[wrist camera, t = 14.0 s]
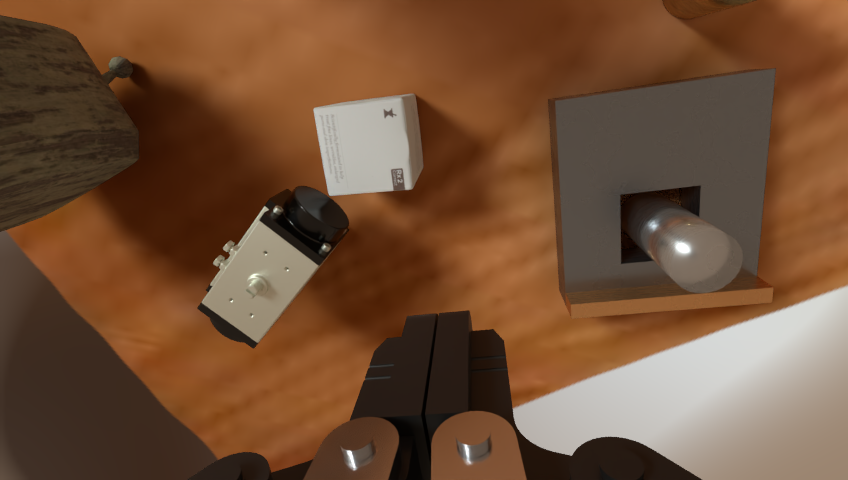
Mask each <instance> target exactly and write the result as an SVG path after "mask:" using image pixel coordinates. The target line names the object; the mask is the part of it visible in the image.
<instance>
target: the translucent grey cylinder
mask: <svg viewBox="0 0 848 480" xmlns="http://www.w3.org/2000/svg"><path fill="white" fill-rule="evenodd" d="M620 214H621V228H622V230H623V231H624V232H625V233H626V234H627V235H628V236H629V237H630V238H631V239H632V240H633V241H634V242H635V243H636V244H637V245H638V246H639V247H640V248H641V249H642V250H643V251H644V252H645V253H646V254H647V255H648V256H649V257H650V258H651V259H652V260H653V261H654V262H655V263H656V264H657V265H658V266H660V267H661V268H662V269H663V270H664V271H665V272H666V273H667V274H668V275H669V276H670V277H671V278H672V279H673V280H674V281H675V282H676V283H677V284H678V285H679V286H680V287H682V288H683V289H685V290H687V291H690V292H693V293H709V292H713V291H716V290H719V289H721V288H723V287H724V286H726V285H727V284H729V283H730V282H731V281H732V280H733V279H734V278H735V277H736V275H737V274H738V272H739V270H740V268H741V265H742V260H743V254H742V250H741V247H740V245H739V244H738V242H737V241H736V240H735V239H734V238H733V237H731V236H730V235H728V234H726V233H725V232H723V231H721V230H720V229H718V228H716V227H715V226H713V225H711V224H710V223H708V222H706V221H705V220H703V219H701V218H700V217H698V216H696V215H695V214H693V213H691V212H690V211H688V210H686V209H685V208H683V207H681V206H680V205H678V204H676V203H675V202H673V201H671V200H670V199H668V198H666V197H664V196H663V195H661V194H659V193H657V192H653V191H648V192H640V193H637V194H635V195H633V196H631V197H630V198H629V199H627V200H626V201H625V203H624V204H623V206H622V207H621V209H620Z"/></svg>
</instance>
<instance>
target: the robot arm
mask: <svg viewBox="0 0 848 480" xmlns="http://www.w3.org/2000/svg"><path fill="white" fill-rule="evenodd" d="M188 480H701V479H700V478H698V477H697V476H695V475H694V474H692V473H690V472H689V471H687V470H685V469H684V468H682V467H680V466H679V465H677V464H675V463H674V462H672V461H670V460H669V459H667V458H666V457H664V456H662V455H661V454H659V453H657V452H656V451H654V450H652V449H650V448H648V447H647V446H645V445H643V444H641V443H638V442H636V441H633V440H629V439H626V438H619V437H601V438H596V439H592V440H590V441H587V442H585V443H584V444H582V445H581V446H580V447H578V448H577V449H576V451H575V452H574V453H573V455H572V456H570V455H565V454H561V453H556V452H552V451H549V450H546V449H543V448H540V447H538V446H536V445H535V444H533V443H531V442H530V441H529V440H527V439H526V438H525V437H524V436H523V435H522V434H521V433H520V432H519V430H518V429H517V427H516V424H515V421H514V417H513V409H512V401H511V393H510V385H509V377H508V370H507V362H506V354H505V346H504V340H503V339H502V338H501V337H500V336H499V335H498V334H497V333H496V332H495V331H494V330H493V329H491V330H479V331H472V323H471V316H470V311H458V312H447V313H439V316H438V314H425V315H414V316H407V319H406V322H405V326H404V329H403V333H402V337H395V338H387V339H386V340H385V341H384V342H383V343H382V344H381V345H380V346H379V347H378V348H377V349H376V350H375V351H374V354H373V357H372V360H371V363H370V368H368V371H367V374H366V376H365V380H364V382H363V385H362V388H361V390H360V393H359V396H358V399H357V402H356V404H355V407H354V410H353V413H352V415H351V418H350V421H348V422H346V423H344V424H342V425H340V426H338V427H337V428H336V429H334V430H333V431H332V432H331V433H330V434H329V435H328V436H327V437H326V438H325V439H324V440H323V442H322V444H321V445H320V447H319V449H318V451H317V453H316V455H315V457H314V459H312V460H310V461H307V462H305V463H302V464H298V465H295V466H292V467H289V468H285V469H282V470H279V471H276V472H272V473H271V470H270V467H269V464H268V462H267V460H266V459H265V458H264V457H263V456H261V455H259V454H257V453H252V452H243V453H237V454H233V455H229V456H227V457H224V458H222V459H220V460H218V461H216V462H214V463H212V464H211V465H209V466H207V467H206V468H204V469H203V470H201V471H200V472H198V473H197V474H195V475H194V476H192V477H191V478H189V479H188Z"/></svg>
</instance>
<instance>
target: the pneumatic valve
mask: <svg viewBox="0 0 848 480" xmlns="http://www.w3.org/2000/svg"><path fill="white" fill-rule="evenodd" d="M348 226H349V220H348V217H347V215H346V214H345V212H344V211H343V210H342V208H341V207H340V206H339V205H338V204H337V203H336V202H334V201H333V200H332V199H331V198H329V197H328V196H327V195H325V194H323V193H322V192H320V191H318V190H316V189H313V188H311V187H307V186H298V187H296V188H295V189H294V190H293V191H292V192H291V191H290V190H289V189H286V190H284V191H282V192H280V193H279V194H277V195H275V196H273V197H272V198H270V199H269V200H268V202H267V203H266V205H265V206H264V207H263V209H262V210H261V212H260V213H259V215H258V216H257V217H256V219H255V220H254V222H253V223H252V225H251V226H250V228H249V229H248V230H247V232H246V233H245V235H244V236H243V238H242V239H241V240H240V242H239V243H238V245H235V246H234V244H235V243H234V242H232V241H231V240H230V241H229V242H227V243H226V245H225V246H224V247H223V250H224V251H226V252H228V251H229V250H230V252H229V254H230V256H229V258H228V259H226V260H225V261H223V260H224V259H225V257H223V256H222V255H219V256H218V257H217V258H216V259H215V260H214V262H213V264H214V265H215V266H219V265H220V266H219V269H220V271H219V272H218V273H217V275H216V276H215V278H214V279H213V281H212V282H211V284H210V285H209V286H208V288H207V289H206V291H207V292H208V293H207V295H206V296H205V298H204V299H203V301H202V302H201V303H200V305H199V306H198V310H200V311H201V312H203V313H204V314H205V315H207V316H208V317H210V320H211V322H212V324H213V325H214V327H215V328H216V329H217V330H218V331H219V332H220V333H221V334H222V335H224V336H225V337H227V338H229V339H231V340H234V341H237V342H244V343H246V344H248V345H249V346H250V347H252V348H255V347H256V345H257V344H258V343H259V342H260V341H261V339H262V338H263V337H264V336H265V335H266V333H267V332H268V331H269V330H270V328H271V327H272V326H273V325H274V324H275V322H276V321H277V320H278V319H279V318H280V316H281V315H282V314H283V313H284V312H285V310H286V309H287V308H288V307H289V305H290V304H291V303H292V302H293V300H294V299H295V298H296V297H297V295H298V294H299V293H300V292H301V290H302V289H303V288H304V287H305V285H306V284H307V283H308V281H309V280H310V279H311V278H312V276H313V275H314V274H315V273H316V271H317V270H318V269H319V268H320V266H321V265H322V264H323V263H324V261H325V260H326V259H327V258H328V256H329V255H330V254H331V253H332V251H333V250H334V249H335V248H336V246H337V245H338V244H339V243H340V241H341V240H342V239H343V238H344V236H345V235H346V234H347V232H348V231H349V229H348Z"/></svg>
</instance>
